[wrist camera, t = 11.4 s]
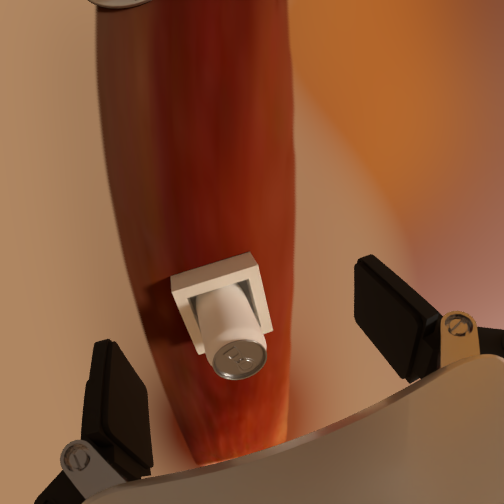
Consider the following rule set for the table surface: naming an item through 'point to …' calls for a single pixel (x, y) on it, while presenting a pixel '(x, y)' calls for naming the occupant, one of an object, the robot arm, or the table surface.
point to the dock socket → (217, 276)
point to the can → (230, 333)
